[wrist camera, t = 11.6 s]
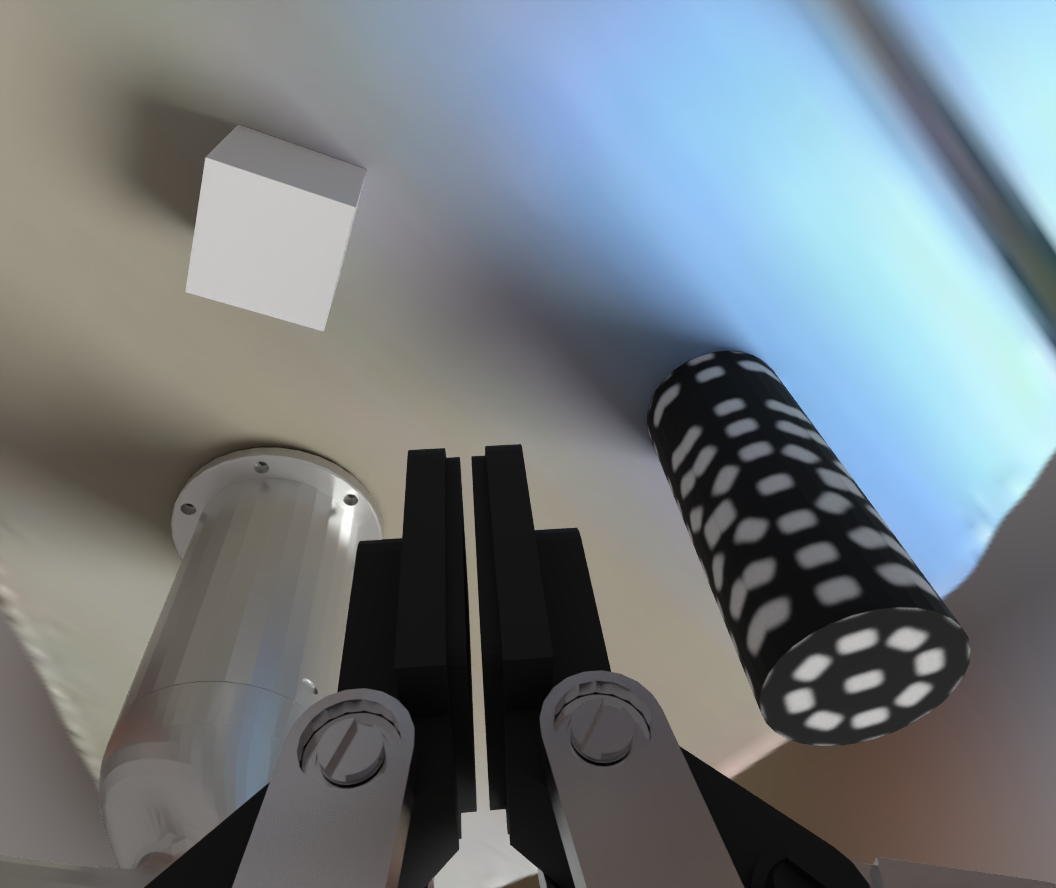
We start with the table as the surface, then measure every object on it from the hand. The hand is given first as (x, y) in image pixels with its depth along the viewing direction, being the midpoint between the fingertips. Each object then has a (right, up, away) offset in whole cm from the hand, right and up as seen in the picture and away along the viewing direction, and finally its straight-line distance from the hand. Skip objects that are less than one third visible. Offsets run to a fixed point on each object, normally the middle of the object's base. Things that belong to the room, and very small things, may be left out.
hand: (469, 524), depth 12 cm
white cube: (-11, +13, +26) cm, 31 cm away
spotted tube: (+12, +3, +35) cm, 37 cm away
